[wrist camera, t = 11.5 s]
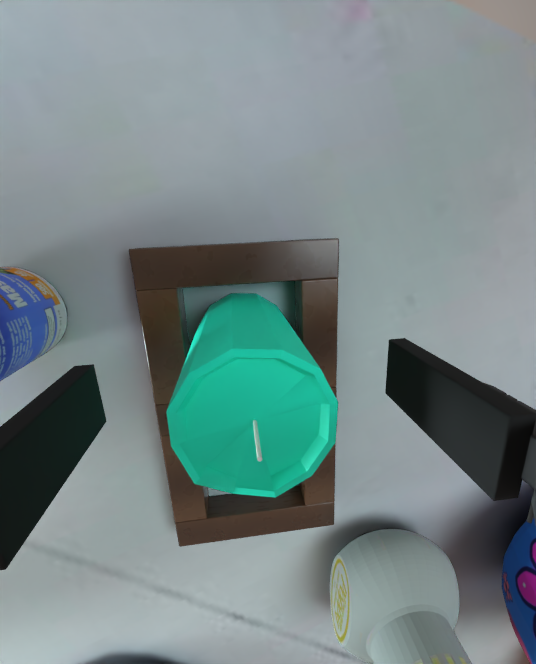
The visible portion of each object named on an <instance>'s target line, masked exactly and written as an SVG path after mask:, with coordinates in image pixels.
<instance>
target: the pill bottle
mask: <svg viewBox="0 0 536 664" xmlns="http://www.w3.org/2000/svg"><path fill="white" fill-rule="evenodd" d="M66 326H67V312H66V307H65V304H64V302H63V300H62V298H61V296H60V295H59V293H58V292H57V291H56V289H55V288H54V287H53V286H52V285H51V284H50V283H49V282H47V281H46V280H45V279H43V278H42V277H40V276H39V275H37V274H35V273H33V272H30V271H28V270H25V269H21V268H15V267H0V381H1V380H3V379H4V378H6V377H8V376H9V375H11V374H12V373H14V372H16V371H17V370H19V369H20V368H22V367H24V366H25V365H27V364H29V363H30V362H32V361H33V360H35V359H37V358H38V357H40V356H42V355H43V354H45V353H47V352H48V351H49V350H51V349H52V348H53V347H54V346H55V345H56V344H57V343H58V342H59V341H60V339H61V338H62V336H63V335H64V332H65V330H66Z"/></svg>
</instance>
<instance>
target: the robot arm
mask: <svg viewBox="0 0 536 664" xmlns="http://www.w3.org/2000/svg"><path fill="white" fill-rule="evenodd" d="M385 393H386V394H387V395H388V396H389V397H390V398H391V399H392V400H393V401H394V402H395V403H396V404H397V405H398V406H399V407H400V408H401V409H402V410H403V411H404V412H405V413H406V414H407V415H408V416H409V417H410V418H411V419H412V420H413V421H414V422H415V423H416V424H417V425H418V426H419V427H420V428H421V429H422V430H423V431H424V432H425V433H426V434H427V435H428V436H429V437H430V438H431V439H432V440H433V441H434V442H435V443H436V444H437V445H438V446H439V447H440V448H441V449H442V450H443V451H444V452H445V453H446V454H447V455H448V456H449V457H450V458H451V459H452V460H453V461H454V462H455V463H456V464H457V465H458V466H459V467H460V468H461V469H462V470H463V471H464V472H465V473H466V474H467V475H468V476H469V477H470V478H471V479H472V480H473V481H474V482H475V483H476V484H477V485H478V486H479V487H480V488H481V489H482V490H483V491H484V492H485V493H486V494H487V495H488V496H489V497H490V498H491V499H492V500H493V501H497V500H504V499H511V498H518V496H519V491H520V487H521V483H522V479H523V480H524V481H525V482H526V483H527V484H529V485H530V486H531V487H532V488H533V489H534V493H533V497H532V501H531V505H530V509H529V513H528V517H527V521H526V522H528V523H532V520H533V519H535V526H536V410H535V409H533V408H531V407H529V406H528V405H526V404H524V403H522V402H521V401H517V399H515V398H513V397H512V396H510V395H507V394H506V393H504V392H503V391H501V390H499V389H497V388H496V387H494V386H491V385H488V384H485V383H482V382H480V381H479V380H477V379H475V378H473V377H472V376H470V375H468V374H466V373H465V372H463V371H461V370H459V369H458V368H456V367H454V366H452V365H451V364H449V363H447V362H445V361H444V360H442V359H440V358H438V357H437V356H435V355H433V354H431V353H430V352H428V351H426V350H424V349H423V348H421V347H419V346H417V345H416V344H414V343H412V342H410V341H409V340H407V339H405V338H403V339H391V340H389V349H388V363H387V378H386V392H385ZM105 423H106V417H105V413H104V409H103V404H102V400H101V395H100V391H99V386H98V382H97V377H96V373H95V369H94V365H82V366H74V367H73V368H72V369H70V370H69V371H68V372H67V373H66V374H64V375H63V376H62V377H61V378H59V379H58V380H57V381H56V382H55V383H53V384H52V385H51V386H50V387H48V388H47V389H46V390H45V391H44V392H42V393H41V394H40V395H39V396H37V397H36V398H35V399H34V400H33V401H31V402H30V403H29V404H28V405H26V406H25V407H24V408H23V409H22V410H20V411H19V412H18V413H17V414H15V415H14V416H13V417H12V418H11V419H9V420H8V421H7V422H6V423H4V424H3V425H2V426H1V427H0V570H5V569H6V568H7V567H8V565H9V564H10V562H11V561H12V559H13V558H14V557H15V555H16V554H17V552H18V551H19V549H20V548H21V546H22V545H23V543H24V542H25V540H26V539H27V537H28V536H29V534H30V533H31V531H32V530H33V529H34V527H35V526H36V524H37V523H38V521H39V520H40V518H41V517H42V515H43V514H44V512H45V511H46V509H47V508H48V506H49V505H50V504H51V502H52V501H53V499H54V498H55V496H56V495H57V493H58V492H59V490H60V489H61V487H62V486H63V484H64V483H65V481H66V480H67V478H68V477H69V476H70V474H71V473H72V471H73V470H74V468H75V467H76V465H77V464H78V462H79V461H80V459H81V458H82V456H83V455H84V453H85V452H86V451H87V449H88V448H89V446H90V445H91V443H92V442H93V440H94V439H95V437H96V436H97V434H98V433H99V431H100V430H101V428H102V427H103V425H104V424H105Z"/></svg>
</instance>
